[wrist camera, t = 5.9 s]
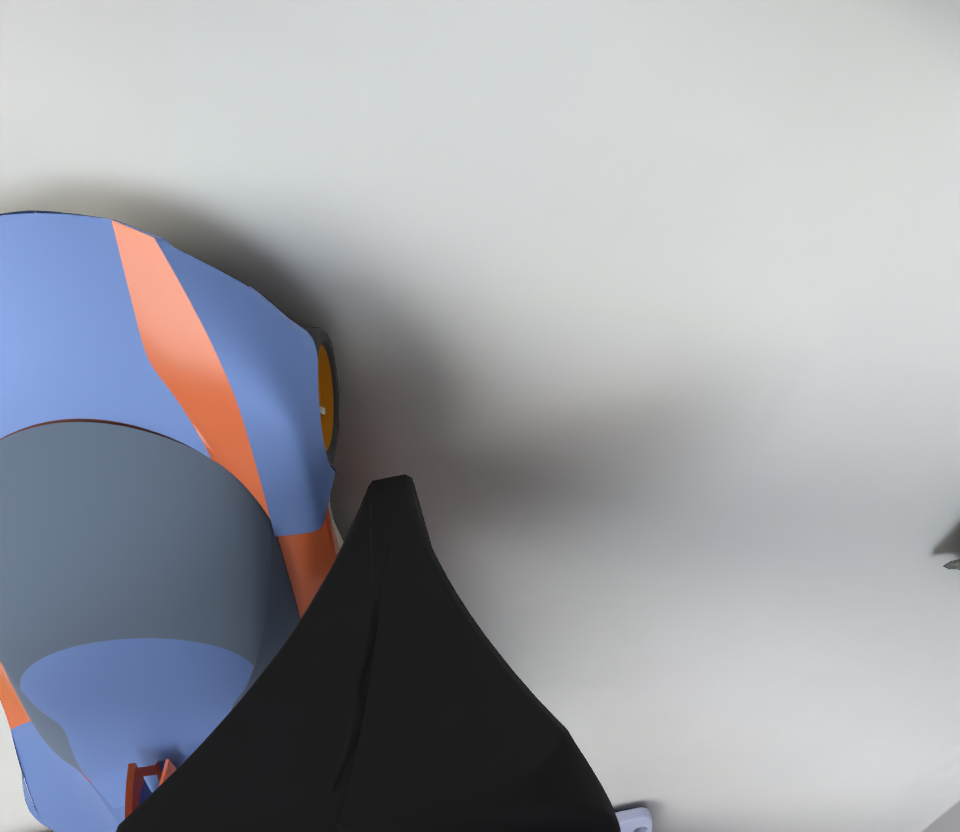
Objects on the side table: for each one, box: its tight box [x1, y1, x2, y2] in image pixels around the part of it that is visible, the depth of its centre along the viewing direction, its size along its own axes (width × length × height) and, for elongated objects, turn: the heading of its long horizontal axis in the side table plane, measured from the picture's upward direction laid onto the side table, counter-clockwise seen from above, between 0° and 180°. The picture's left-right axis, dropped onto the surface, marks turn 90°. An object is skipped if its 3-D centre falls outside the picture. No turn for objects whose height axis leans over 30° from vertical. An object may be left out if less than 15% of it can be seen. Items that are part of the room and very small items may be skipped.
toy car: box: [0, 211, 344, 832], centre depth 11 cm, size 8×15×5 cm, turn 0°
